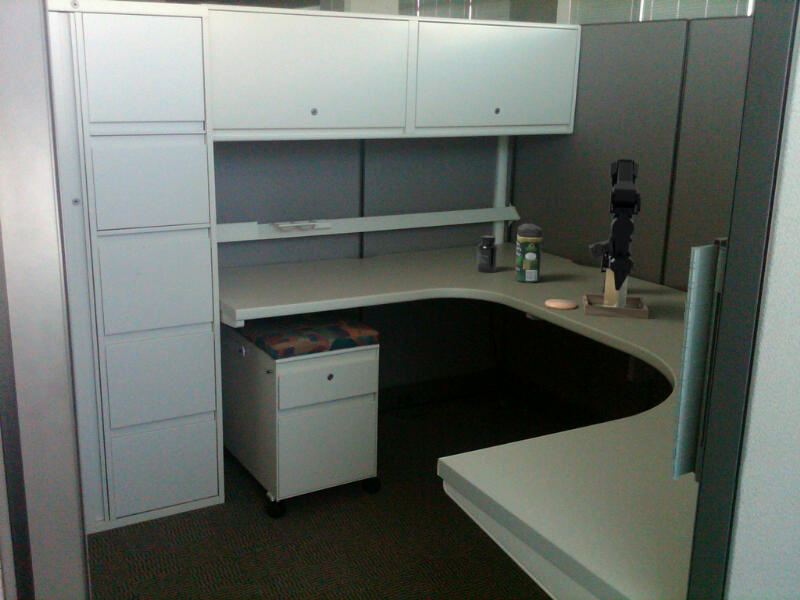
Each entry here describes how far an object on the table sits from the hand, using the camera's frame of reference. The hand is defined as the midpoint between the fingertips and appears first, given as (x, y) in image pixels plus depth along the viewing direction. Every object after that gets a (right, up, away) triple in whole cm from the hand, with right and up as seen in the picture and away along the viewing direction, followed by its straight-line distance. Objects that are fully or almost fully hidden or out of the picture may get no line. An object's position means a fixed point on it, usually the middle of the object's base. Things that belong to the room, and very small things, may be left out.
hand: (616, 287), depth 228 cm
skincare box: (0, -7, +2) cm, 7 cm away
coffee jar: (-20, +3, +37) cm, 42 cm away
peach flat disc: (-15, -5, +5) cm, 16 cm away
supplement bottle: (-31, +6, +50) cm, 60 cm away
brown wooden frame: (0, -6, +2) cm, 7 cm away
